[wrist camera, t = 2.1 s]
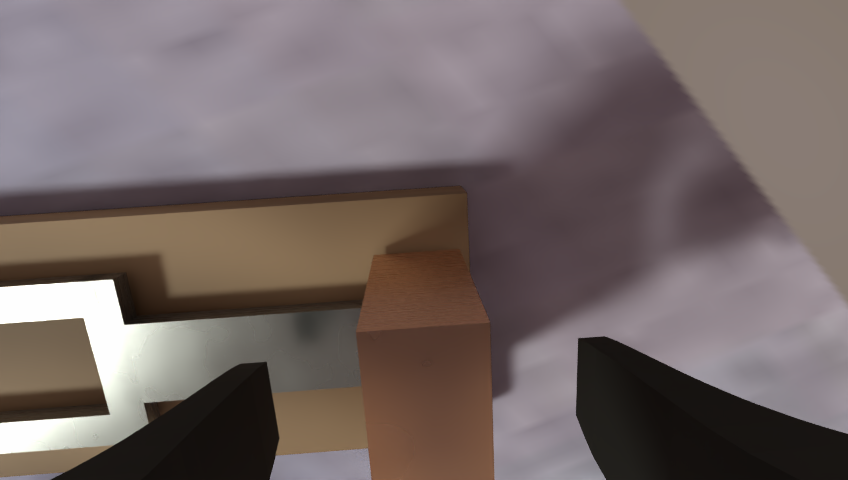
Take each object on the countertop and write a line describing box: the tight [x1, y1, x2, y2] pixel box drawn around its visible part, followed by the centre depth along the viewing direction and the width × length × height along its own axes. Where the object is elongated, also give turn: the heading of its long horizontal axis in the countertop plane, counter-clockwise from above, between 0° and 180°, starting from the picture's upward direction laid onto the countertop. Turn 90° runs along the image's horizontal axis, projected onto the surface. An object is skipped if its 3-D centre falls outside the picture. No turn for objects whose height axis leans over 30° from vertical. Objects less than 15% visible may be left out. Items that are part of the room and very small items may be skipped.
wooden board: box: [0, 186, 470, 477], centre depth 14 cm, size 8×22×2 cm, turn 94°
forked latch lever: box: [0, 249, 494, 480], centre depth 11 cm, size 5×16×5 cm, turn 94°
